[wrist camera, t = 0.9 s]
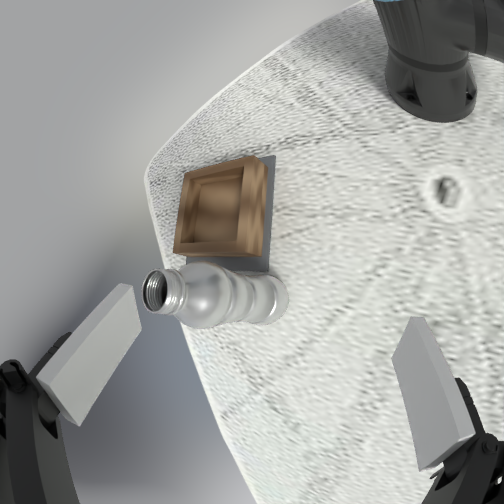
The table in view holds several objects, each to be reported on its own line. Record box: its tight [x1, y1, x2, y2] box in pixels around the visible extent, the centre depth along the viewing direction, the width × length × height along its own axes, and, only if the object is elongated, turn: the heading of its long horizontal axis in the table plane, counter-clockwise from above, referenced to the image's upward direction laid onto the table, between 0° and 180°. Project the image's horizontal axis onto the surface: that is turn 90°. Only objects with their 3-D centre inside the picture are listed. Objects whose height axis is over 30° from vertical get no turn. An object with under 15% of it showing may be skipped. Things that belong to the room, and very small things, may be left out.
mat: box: [186, 155, 276, 271], centre depth 44 cm, size 18×16×1 cm
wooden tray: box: [173, 155, 268, 257], centre depth 42 cm, size 14×14×4 cm
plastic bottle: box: [141, 261, 289, 329], centre depth 29 cm, size 6×7×20 cm
